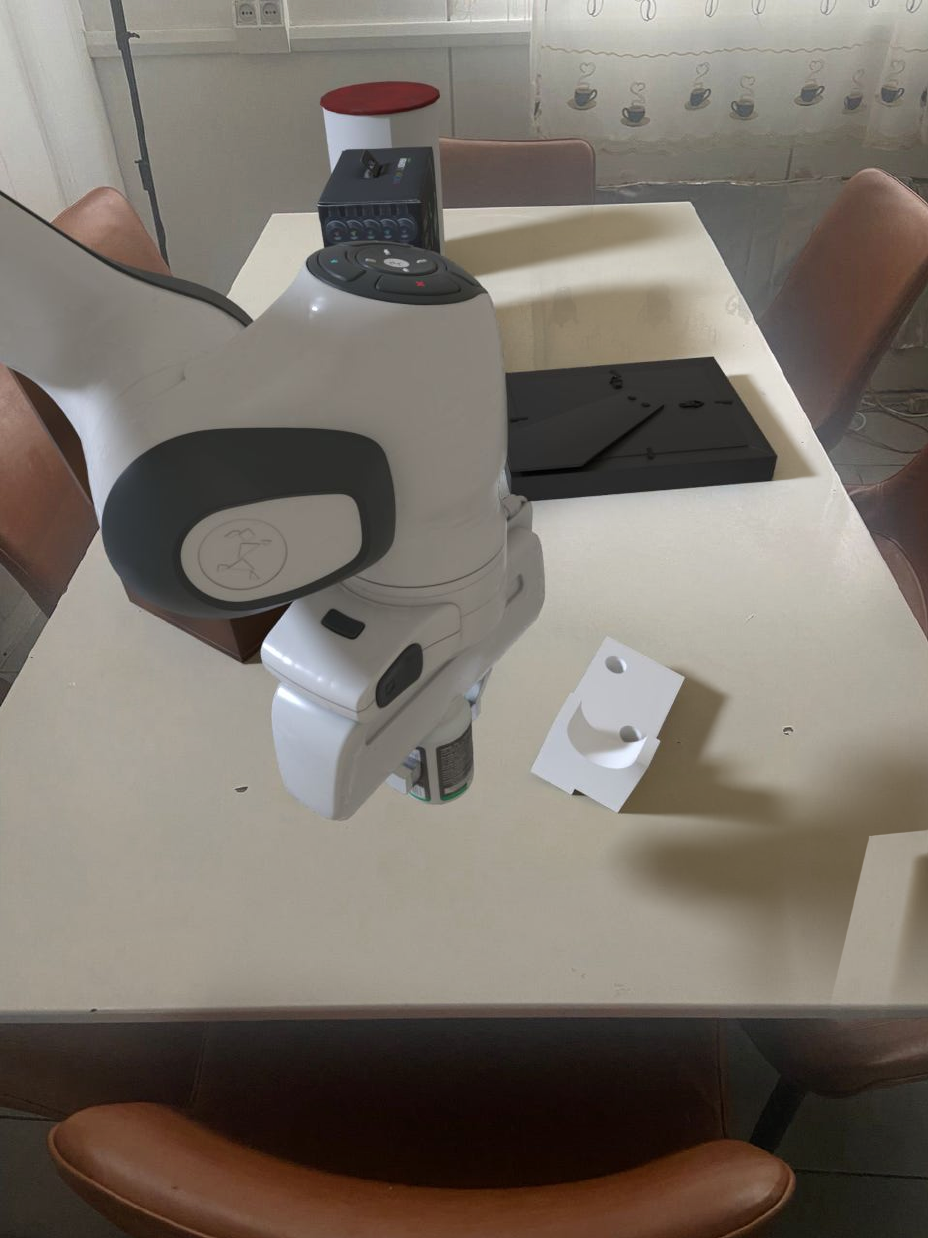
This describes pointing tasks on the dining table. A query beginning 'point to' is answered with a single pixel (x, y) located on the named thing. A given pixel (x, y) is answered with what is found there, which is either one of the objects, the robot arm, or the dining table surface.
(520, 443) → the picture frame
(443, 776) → the pill bottle
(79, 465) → the lid
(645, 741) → the bracket
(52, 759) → the dining table surface
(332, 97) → the container
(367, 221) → the headset box
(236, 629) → the chest
